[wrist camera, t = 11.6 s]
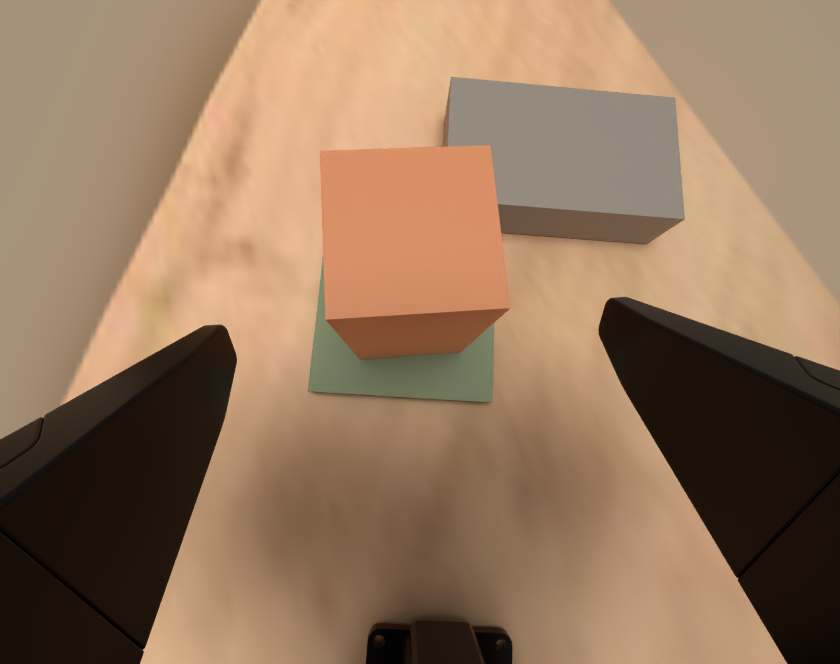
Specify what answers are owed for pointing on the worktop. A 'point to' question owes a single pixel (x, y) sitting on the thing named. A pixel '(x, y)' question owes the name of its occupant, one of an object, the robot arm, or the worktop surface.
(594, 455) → the worktop surface
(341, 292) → the terracotta block
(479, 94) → the slate block
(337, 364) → the green mat
